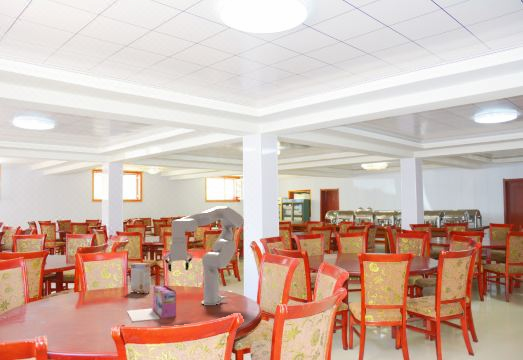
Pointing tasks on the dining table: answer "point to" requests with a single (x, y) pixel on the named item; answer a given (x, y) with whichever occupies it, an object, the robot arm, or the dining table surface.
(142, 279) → the cracker box
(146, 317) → the mat
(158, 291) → the gum box
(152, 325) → the dining table surface
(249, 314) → the dining table surface
